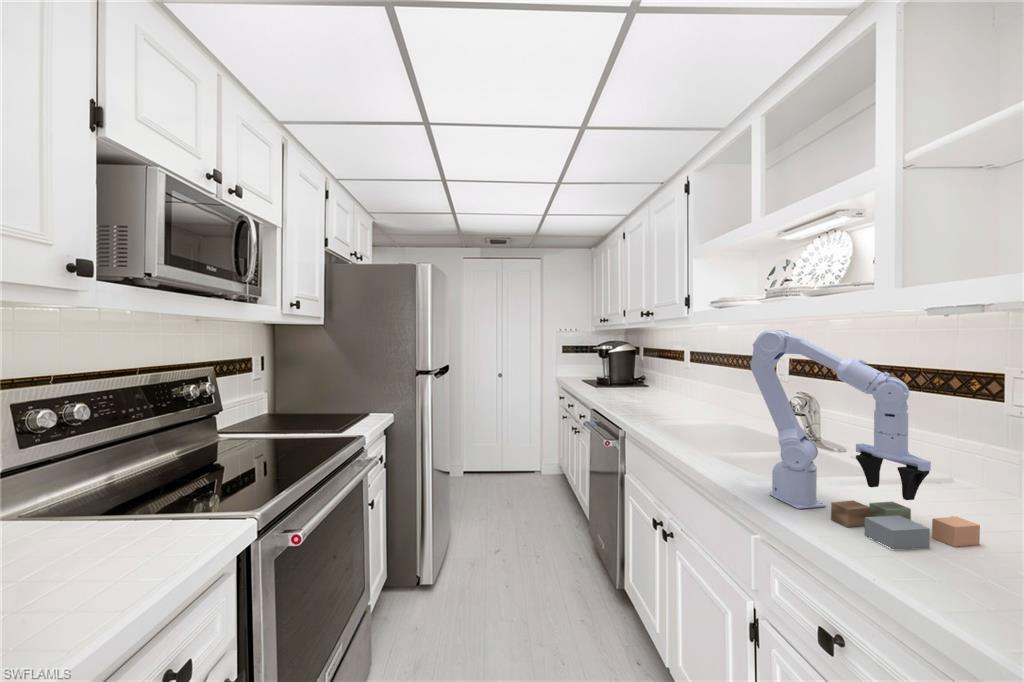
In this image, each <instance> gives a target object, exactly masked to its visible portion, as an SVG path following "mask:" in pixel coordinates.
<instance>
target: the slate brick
mask: <svg viewBox="0 0 1024 682" xmlns="http://www.w3.org/2000/svg"><path fill="white" fill-rule="evenodd" d="M930 531H931V530H930V528H929V527H927V526H925V525H922V524H921V523H918V522H915V521H914V520H909V519H907V518H904V517H902V516H900V515H899V516H879V517H865V526H864V536H865V535H866V536H868V537H870V538H872V539H874V540H876V541H878V542H880V543H882V544H884V545H886V546H888V547H890V548H891V549H905V550H913V549H912V548H923V549H930V533H931V532H930ZM866 536H865V537H866ZM868 537H867V538H868ZM870 538H869V539H870ZM872 539H871V540H872ZM874 540H873V541H874ZM876 541H875V542H876ZM878 542H877V543H878ZM880 543H879V544H880ZM891 549H890V550H891Z"/></svg>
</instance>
